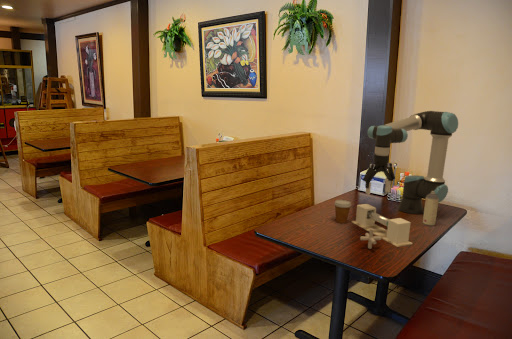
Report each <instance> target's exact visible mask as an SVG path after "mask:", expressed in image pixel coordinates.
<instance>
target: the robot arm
mask: <svg viewBox="0 0 512 339" xmlns="http://www.w3.org/2000/svg"><path fill="white" fill-rule="evenodd" d="M458 128H459V119H458V117H457V115H456V114H455V113H453V112H448V111H438V110H437V111H436V110H435V111H434V110H428V111H421V112H417V113H414V114H412V115H410V116H409V117H406V118H404V119H400V120H397V121H393V122H388V123H386V124H383V125H382V124H381V125H371V126H369V127H368V129H367V137H368V138H369V139H372V140H375V144H374V145H375V146H374V155H373V162H374V163H373V164H372V163H369V164H368V168H367V170H366V172H365V174H364V176H363V178H362V181H363V182H365V185H364V187H365V194H366V195H368V196H369V195H371V188H372V182H371V181H372V180H373V179H374V177H375V176H376V175H377V174H378V173H381V172H382V173H383V174H384V176H385V177H386V182H385V190H384V191H385V192H386V193H391V186H392V182H393V181H394V180H395V179H396V176H395V172H394V169H393V163H391V162H389V160H390V150H391V144H397V143H398V144H400V143H405V142H406V141H407V140H408V137H409V136H408V135H409V134H408V132H409V131H412V130H414V131H418V130H424V131H425V130H426V131H430V134H429V135H431V137H432V139H431V146H430V153H429V154H430V155H429V160H428V167H427V168H428V169H427V174H426V176H424V175H416V174H414V175H406V176H405V177H404V181H403V188H402V198H401V200H400V202H399V204H398V206H397V207H398V210H399V211H400V212H402V213H406V214H412V215H419V214H421V215H422V214H424V207H423V200H424V199H425V200H426V195H428V194H430V193H431V191H435V194H436V195H437V196H438V197H439V201H438V203H441V202H442V201H444V199H446V197H447V195H448V193H449V187H448V185H447V184H446V180H445V179H444V173H445V172H444V171H445V166H446V165H445V163H446V158H447V151H448V150H447V149H448V144H449V139H450V138H451V137H452V136H453V134H454V133H455V132H456V131H457V130H458ZM422 199H423V200H422Z"/></svg>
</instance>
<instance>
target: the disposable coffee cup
mask: <svg viewBox="0 0 512 339" xmlns="http://www.w3.org/2000/svg"><path fill="white" fill-rule="evenodd" d="M351 203H352V202H351V201H348V200H345V199H336V200H335V201H334V207H335V210H334V211H335V222H336V223H339V224H347V223H348V222H347V221H348V218H349V212H350V209H351V206H352V204H351Z"/></svg>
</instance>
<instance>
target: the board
mask: <svg viewBox="0 0 512 339" xmlns="http://www.w3.org/2000/svg"><path fill="white" fill-rule="evenodd" d="M350 222H351V224H354V225H356V226H358V227H359V228H362V229H364V230H365V231H367V232H369V231H370V228H373V229H374V230H373V236H381V240H383V241H385V242H387V243H389V244H390V245H393V246H395V247H397V248H398V247H399V248H400V247H404V246H411V245H413V242H411V241H409V240H408V242H405V243H399V244H395V243H393V242H391V241H389V240H388V239H386V238H387V228H386V229H385V228H384V227H382V226H380V225H378V224H375V225H373V226H366V227H364V226H362V225H360V224H359V223H357V222H356V220H352V221H350Z"/></svg>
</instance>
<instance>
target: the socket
mask: <svg viewBox="0 0 512 339" xmlns="http://www.w3.org/2000/svg"><path fill="white" fill-rule="evenodd" d="M389 219H390V218H389ZM411 224H412V222H410V221H408V220H406V219H404V218H401V217H397V218H392V219H390V220H388V227H387V228H386V230H387V238H386V239H388V240H389V241H391V242H393V243H395V244H399V243H405V242H408V241H409V237H410V230H411Z"/></svg>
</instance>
